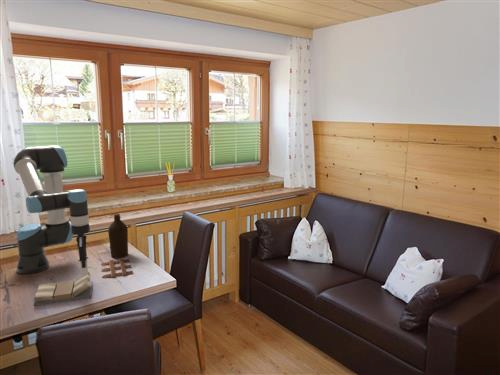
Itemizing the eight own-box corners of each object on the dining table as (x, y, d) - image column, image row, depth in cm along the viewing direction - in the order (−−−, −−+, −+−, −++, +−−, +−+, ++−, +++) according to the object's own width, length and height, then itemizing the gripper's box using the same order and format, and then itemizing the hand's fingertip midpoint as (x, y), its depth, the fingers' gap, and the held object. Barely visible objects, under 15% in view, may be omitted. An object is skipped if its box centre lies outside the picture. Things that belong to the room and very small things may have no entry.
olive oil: (133, 253, 228) (130, 212, 223) (121, 259, 218) (118, 217, 214) (118, 251, 232) (115, 210, 227) (106, 257, 222) (102, 215, 217)
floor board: (39, 292, 179) (38, 285, 179) (92, 284, 187) (92, 278, 186) (33, 306, 166) (33, 298, 166) (91, 297, 174) (90, 290, 173)
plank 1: (40, 288, 179) (39, 284, 179) (56, 286, 181) (56, 282, 181) (34, 301, 166) (34, 297, 166) (52, 299, 169) (52, 295, 168)
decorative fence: (128, 260, 219) (100, 264, 214) (128, 257, 219) (100, 261, 213) (133, 276, 199) (102, 280, 193) (133, 272, 198) (102, 277, 193)
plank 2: (77, 283, 184) (75, 280, 183) (90, 274, 185) (88, 271, 185) (75, 296, 172) (72, 292, 171) (89, 286, 173) (86, 283, 172)
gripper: (72, 221, 178) (77, 269, 182) (69, 228, 166) (74, 280, 170) (89, 219, 180) (94, 267, 185) (88, 227, 168) (92, 277, 173)
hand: (84, 273), depth 177 cm, fingers closed
